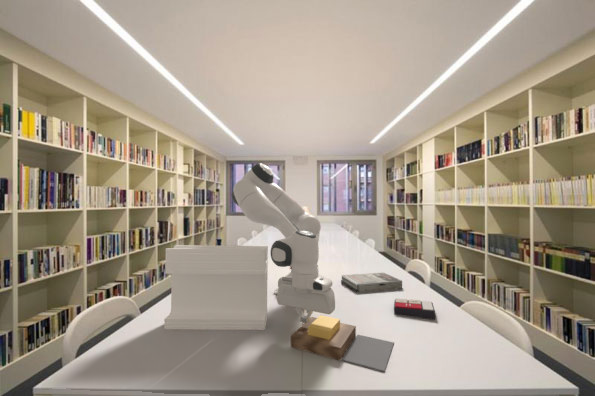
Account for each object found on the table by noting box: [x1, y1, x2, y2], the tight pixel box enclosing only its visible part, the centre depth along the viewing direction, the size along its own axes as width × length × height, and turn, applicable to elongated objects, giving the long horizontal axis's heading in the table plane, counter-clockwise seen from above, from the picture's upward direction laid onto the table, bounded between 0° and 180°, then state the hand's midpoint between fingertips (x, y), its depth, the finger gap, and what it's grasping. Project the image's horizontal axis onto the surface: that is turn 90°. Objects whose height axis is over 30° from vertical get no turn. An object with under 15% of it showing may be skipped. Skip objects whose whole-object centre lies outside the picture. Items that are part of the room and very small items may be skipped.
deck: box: [290, 316, 357, 361], centre depth 91 cm, size 16×16×4 cm
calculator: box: [393, 298, 436, 321], centre depth 116 cm, size 11×4×15 cm
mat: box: [341, 334, 394, 373], centre depth 85 cm, size 12×17×1 cm
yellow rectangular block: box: [308, 314, 341, 340], centre depth 91 cm, size 7×10×2 cm
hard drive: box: [340, 272, 403, 293], centre depth 153 cm, size 18×27×4 cm
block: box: [163, 244, 269, 331], centre depth 103 cm, size 35×8×28 cm, turn 91°
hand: (304, 321), depth 94 cm, fingers closed
